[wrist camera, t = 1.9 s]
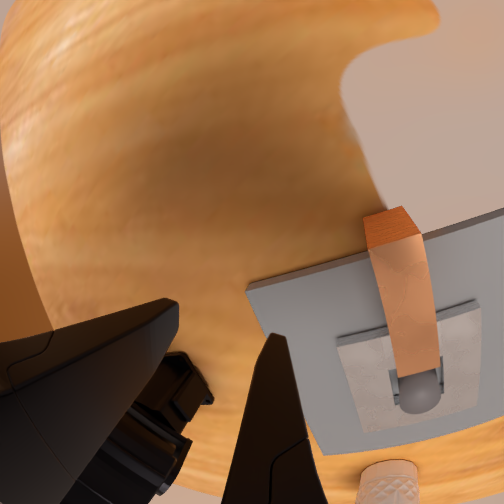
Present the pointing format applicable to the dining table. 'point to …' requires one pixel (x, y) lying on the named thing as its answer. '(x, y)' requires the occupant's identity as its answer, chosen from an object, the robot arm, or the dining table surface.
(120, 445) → the robot arm
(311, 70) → the dining table surface
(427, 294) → the flange plate
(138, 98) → the dining table surface
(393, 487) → the white cup
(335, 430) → the slate board
